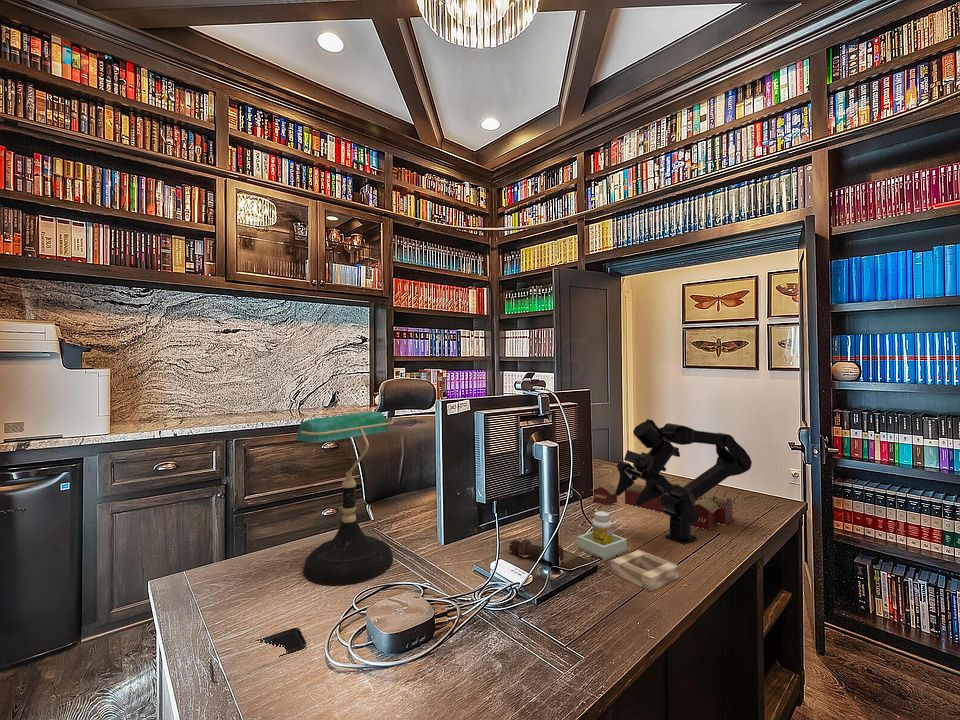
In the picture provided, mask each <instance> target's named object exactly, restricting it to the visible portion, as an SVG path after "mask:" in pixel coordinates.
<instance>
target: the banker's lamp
mask: <svg viewBox="0 0 960 720" xmlns="http://www.w3.org/2000/svg"><path fill="white" fill-rule="evenodd" d="M393 424H394V421H393V420H386V419H385V414H384V413H382V412H379V411H367V412H358V413H350V414H340V415H334V416H325V417H324V416H323V417H317V418H310V419H306V420H304V421H302V422H301V423H300V425H299V428H298V431H297V434H296V437H295V440H296V441H301V442H307V443H314V444H315V443H316V444H317V443H325V442H331V441H332V442H333V441H339V440H345V439H349V438H355V437H361V436H362V439H363V441H364V444H365V448H364V450H363V452H362V453H361V454H360V455H359V457H358V458H357V460H356V461H355V462H354V464H353V465H352V466H351V468H350V470H347V472H346V474H345V476H346V477H345V478H346V479H344V480H343V481H342V483H341V487H342V507H341V509H342V510H341V511H342V513H343V515H342V517H341V518H342V519H341V522H340V524H339V527H338V530H337V532H336V534H335V536H334V537H333V538H332V539H330V540H328V541H326V542H325V541H324V542H323V543H322V544H320V546H318V547H316V548H314V549H313V550H312V551H311V552H310V553H309V554H308V555H307V556H306V559H305V561H304V565H303V570H302V571H303V576H304V577H305V578H306V579H307V580H308V581H310V582H313V583H314V584H318V585H324V586H346V585H354V584H359V583H362V582H366V581H370V580H371V579H373V578H376V577H378V576H380V575H383V573H385V572H386V571H387V570H388V569H390V567H391V566H392V564H393V563H394V556H393V552H392V548H391V547H390V545H389V544H387V542H385V541H383V540H381V539H379V538H376V537H374V536H370V535H366V534H365V533H364V532H363V530H362V529H361V526H360V525H359V522H358V520H357V516H356V513H355V512H356V510H357V505H356V487H357V482H356V480H355V479H354V478H352V476H353V475H352V474H353V472H354V470H355V469H356V468H357V466H358V464H359V463H360V462H361V461H362V459H363V458H364V456H365V455H366V454H367V452H368V450H369V449H370V444H369V441H368V438H367V435H372V434H379V433H384V432H387V431H388V430H387V426H389V425H393Z"/></svg>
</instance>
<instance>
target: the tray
mask: <svg viewBox="0 0 960 720" xmlns="http://www.w3.org/2000/svg"><path fill="white" fill-rule="evenodd" d="M577 549H579V550H580V551H582V550H583V551H582V552H584V553H587V554H589V555H591V554H592V555H591V556H593V555H594V556H593V557H595V556H597V557H600V558H602V559H601V560H603V561H608V560H610V559H612V557H613V558H615V557H617V556H616V555H618V556H620V555H623V554H626V553H627V552H628V539H627V538H626V537H622V536H619V535H616V534H614V533H612V543H611V544H608V545H605V546H603V545H601V544H598V543H596V542H593V531H590V532H587V533H584V534H580V535H578V536H577ZM614 556H615V557H614ZM597 557H596V558H597ZM600 558H599V559H600Z"/></svg>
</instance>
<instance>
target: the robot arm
mask: <svg viewBox="0 0 960 720" xmlns="http://www.w3.org/2000/svg"><path fill="white" fill-rule="evenodd" d="M632 435H634V437H635V438H636V439H637V440H638V441H639V442H640V443H641V445H643V446H644V447H645V448H646V449H650V450H649V451H648V453H646V452H643V451H642V452H641V453H637V452H634V451H631V450H629V449H628V450H626V454H625V455H624V459H623V460H624V461H623V460H621V461H619V462H618V463H617V465H616V468H617V472H618V473H619V479H618V483H617V485H616V489H617V490H616V493H615V494H616V495H617V497H619V496H620V495H622V494H623V493H625V490H627V489H628V488H629V487H630V486H631V485H633V484H634V483H635V482H636V480H638V479H639V480H643V481H645V484H646V486H645V488H644V490H643V492H642V493H641V495H640V496H639V498H638V499H637V501H636V505H638V506H639V505H642V504H644V503H646V502H648V501H650V500H652V499H655V498H657V497H660V496H661V500H660V504H661V507H662V508H663V510H664V513H663V514H664V515H667V516H670V517H669V533H667V534H665V537H666V538H667V539H671V540H674V541H676V542H678V543H682V544H687V543H689V542H693V541H694V540H697V536H694V535H692V527H691V523H693V522H696V521H697V519H698V516H699V514H698V513H697V512H696V511H695V510H694V509H693V508H694V506H695V502H696V500H697V499H698V498H700V497H701V496H703V495H704V494H705V495H706V494H708V492H710V490H712V489H713V488H715V487H716V486H717V485H719V484H720V483H721V482H723V481H724V480H726V479H728V478H729V477H734V476H740V475H742V474H744V473H746V472H748V471H749V470H751V468H752V464H753V463H752V459H751V456H750V455H749V454H748V453H747V451H746V449H744V447H743V446H741V445H740V444H739V443H738V442H737V441H736V440H735V438H734V437H733V436H732V435H731V434H728V433H724V432H723V433H722V432H710V431H705V430H704V431H703V430H696V429H693V428H692V427H689V426H686V425H682V424H681V425H680V424H677V423H676V424H675V423H671V422H670V423H669V422H668V423H666V424H664V425H663V426H662V427H658V426H657V425H656V423H655V421H654V420H653V419H650V418H648V419H646V420H645V421H644V422H641V423H639V424H638V425H636V426H635V427H634V429H633V432H632ZM695 443H697V444H703V445H704V444H705V445H713V446H715V453H716V454H717V456H718V457H717V458H716V463H715V464H714V465H713V466H711V467H710V468H708V469H707V470H706V471H704V472H702V473H701V474H700V475H698V476H697V477H696V478H694V479H693V480H691V481H690V482H688V483H687V484H686V485H684V486H681V485H680V486H681V487H680V486H677V485H674V484H673V485H671V483H672V482H670V481H669V480H668V479H667V478H666V477H665V476H664V475H662V474H660V473H661V472H666V471H667V468H666V467H665V466H666V465H667V463H668V462H669V461H670V459H671V458H672V457H673V456H674V457H677V458H680V457H681V453H680V450H679V449H680V448H679V447H677V446H674V445H673V444H675V445H676V444H677V445H681V446H684V445H685V446H686V445H691V444H695ZM705 495H704V496H705Z"/></svg>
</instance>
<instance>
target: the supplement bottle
mask: <svg viewBox="0 0 960 720" xmlns="http://www.w3.org/2000/svg"><path fill="white" fill-rule="evenodd" d="M594 518H595V519H593V521H592V532H593V542H596V543H598V544H601V545H603V546H605V545H608V544H611V543H612V534H613V524H612V521H611V520H610V513H609V512H607V511H600V510H599V511H595V512H594Z"/></svg>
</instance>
